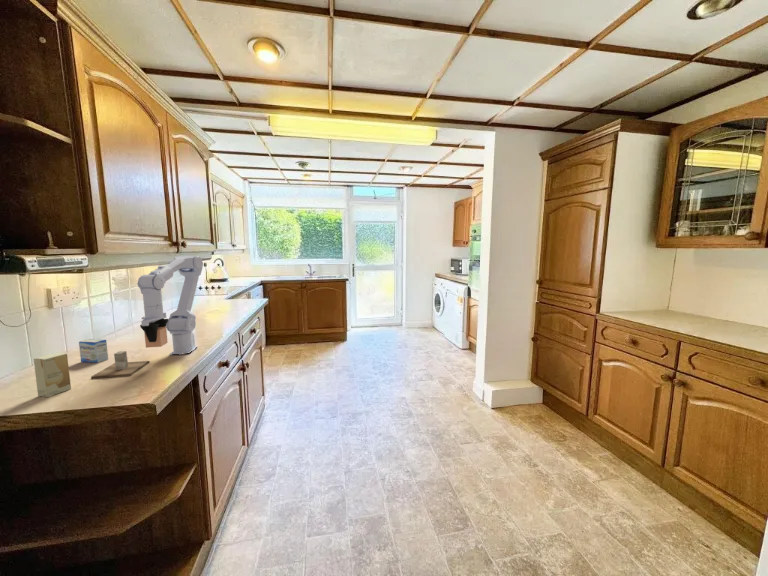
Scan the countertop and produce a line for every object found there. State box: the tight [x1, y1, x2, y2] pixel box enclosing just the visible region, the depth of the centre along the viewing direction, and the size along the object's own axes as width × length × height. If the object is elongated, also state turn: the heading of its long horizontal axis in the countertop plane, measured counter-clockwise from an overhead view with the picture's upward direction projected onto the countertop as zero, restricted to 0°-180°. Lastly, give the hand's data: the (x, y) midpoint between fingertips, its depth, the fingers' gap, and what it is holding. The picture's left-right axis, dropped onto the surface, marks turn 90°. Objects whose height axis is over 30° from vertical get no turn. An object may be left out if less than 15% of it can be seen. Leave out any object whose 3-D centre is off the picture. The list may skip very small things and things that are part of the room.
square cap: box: [143, 327, 168, 348], centre depth 119 cm, size 5×5×7 cm
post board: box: [90, 350, 150, 380], centre depth 115 cm, size 13×12×7 cm
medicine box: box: [78, 338, 109, 364], centre depth 124 cm, size 8×4×9 cm, turn 84°
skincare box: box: [33, 352, 72, 398], centre depth 97 cm, size 6×4×12 cm
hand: (156, 339), depth 119 cm, fingers closed on square cap, 5 cm apart
